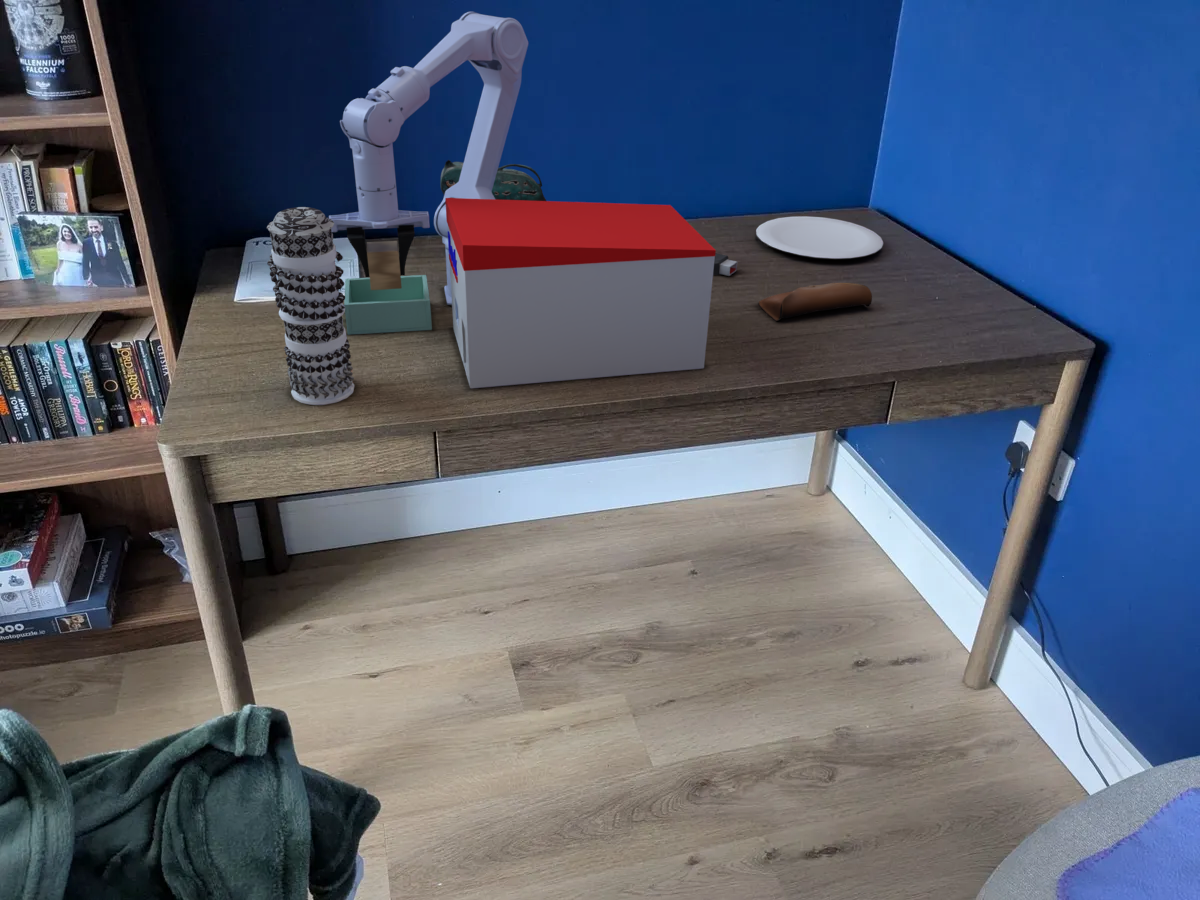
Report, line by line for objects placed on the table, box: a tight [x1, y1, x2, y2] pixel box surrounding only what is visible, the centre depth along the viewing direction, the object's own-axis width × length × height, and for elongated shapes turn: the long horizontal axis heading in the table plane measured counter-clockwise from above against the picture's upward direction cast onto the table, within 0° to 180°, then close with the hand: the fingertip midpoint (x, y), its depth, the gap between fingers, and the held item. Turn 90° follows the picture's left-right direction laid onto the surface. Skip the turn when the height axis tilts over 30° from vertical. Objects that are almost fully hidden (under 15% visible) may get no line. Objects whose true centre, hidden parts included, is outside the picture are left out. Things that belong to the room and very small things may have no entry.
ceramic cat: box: [439, 159, 547, 201], centre depth 176 cm, size 20×6×20 cm, turn 104°
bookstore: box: [445, 198, 717, 389], centre depth 140 cm, size 21×35×21 cm, turn 104°
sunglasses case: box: [758, 282, 873, 321], centre depth 161 cm, size 18×7×7 cm, turn 113°
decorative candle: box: [266, 206, 355, 406], centre depth 125 cm, size 9×9×25 cm
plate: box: [755, 215, 884, 261], centre depth 190 cm, size 25×25×2 cm
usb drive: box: [713, 252, 738, 277], centre depth 176 cm, size 5×12×3 cm, turn 58°
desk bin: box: [343, 274, 433, 336], centre depth 152 cm, size 13×11×5 cm
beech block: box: [366, 240, 402, 290], centre depth 146 cm, size 5×5×6 cm
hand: (384, 274), depth 147 cm, fingers closed on beech block, 4 cm apart
